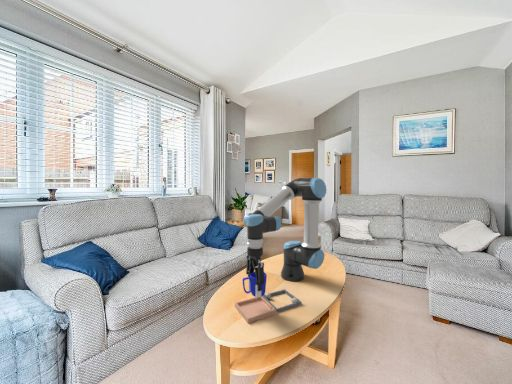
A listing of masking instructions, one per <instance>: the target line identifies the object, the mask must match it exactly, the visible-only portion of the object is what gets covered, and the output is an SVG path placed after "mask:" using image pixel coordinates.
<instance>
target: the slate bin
mask: <svg viewBox="0 0 512 384" xmlns="http://www.w3.org/2000/svg"><path fill="white" fill-rule="evenodd" d="M269 293H270V295H271V297H273V296H277V295H281V294H285V295H287V296H289V297H290V298H291V299H292V298H296V299H297V300H298V302H296V303H290V304H287V305H284V306H280V307H276V306H275V304H273V303H272V302H271V301H270V299H266V297H265V295H266V293H265V294H264V295H263V296H262V297H263V298H264V299H265V300H266V301H267V302H268V303H269V304H270V305H272V306H273V307H274V308H275V309H276V313H280V312H283V311H285V310H288V309H292V308H293V307H297V306H301V305H302V301H301V300H300V299H298V298H297V297H296V296H295V295H293V294H292V293H290V292H289V291H288V290H286V289H284V288H283V289H279V290H276V291H273V292H269Z"/></svg>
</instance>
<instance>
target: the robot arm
mask: <svg viewBox="0 0 512 384" xmlns="http://www.w3.org/2000/svg"><path fill="white" fill-rule="evenodd" d="M326 195H327V185H326V183H325V182H324V180H323V179H322V178H318V177H297V178H294V179H293V180H291V181H290V182H288V183H286V184H285V185H284V186H282V188H281V190H280V191H279V192H277V193H276V194H275V195H274V196H273V197H271V198H270V199H268V200H267V201H266V202H265V203H263V204H261V206H260V207H258V208H257V209H256V210H255V211H253V212H250V213H249V212H247V213H245V215H244V217H243V224H244V225H245V226H246V228H247V230H246V231H247V233H246V235H247V240H246V244H247V248H246V252H247V253H246V254H247V255H246V271H245V274H246V275H247V277H250V274H251V273H254V272H255V275H256V282H257V283H256V298H258V297H261V285H262V284H264V273H265V268H264V267H265V262H262V260H261V257H262V256H263V254H264V253H263V252H264V248H263V246H264V234H267V233H272V232H276V231H279V230H281V228H282V220H281V218H280V217H279V216H277V215H276V216H275V215H273V214H275V212H276V211H278V210H279V209H280V208H281V207H282V206H284V205H285V204H286V203H287V202H289V200H290V201H291V200H293V199H294V198H296V197H301V200H302V202H303V203H304V204H303V205H304V206H303V207H304V209H303V210H304V211H303V241H300V240H289V241H286V242H285V243H284V244H283V266H282V269H281V272H280V277H281V278H282V279H284V280H285V281H288V282H300V281H303V280H304V279H305V272H304V269H303V267H307V268H309V269H314V270H317V269H319V268H320V267H321V266H322V264H323V263H324V260H325V252H324V251H323V250H322V249H321V244H320V243H319V226H320V224H319V222H320V217H319V215H320V203H321V202H322V201H323V198H325V196H326ZM247 285H248V291H250V289H251V288H250V279H248V283H247Z"/></svg>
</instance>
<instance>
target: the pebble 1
mask: <svg viewBox="0 0 512 384" xmlns="http://www.w3.org/2000/svg"><path fill="white" fill-rule="evenodd" d="M270 293H271V292H267V293H266V292H265V294H266V295H265V294H264V295H265V297H266V299H268V300H270V299H271V297H272V296H271V295H270Z"/></svg>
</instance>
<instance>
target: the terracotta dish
mask: <svg viewBox="0 0 512 384" xmlns="http://www.w3.org/2000/svg"><path fill="white" fill-rule="evenodd" d="M234 307H235V309H236V310H237V311H238V313H239V314H240V315H241V317H243V319H244V320H245V322H246V323H247V324H249V323H252V322H256V321H259V320H261V319H265V318H268V317H271V316H275V315H277V312H276V309H275V308H274V307H273V306H272V305H270V304H269V303H268V302H267V301H266V300H265V299H264V298H263V297H258V298H256V297H255V296H253V297H251V298H247V299H244V300H240V301H239V300H238V301H236V302H234Z"/></svg>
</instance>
